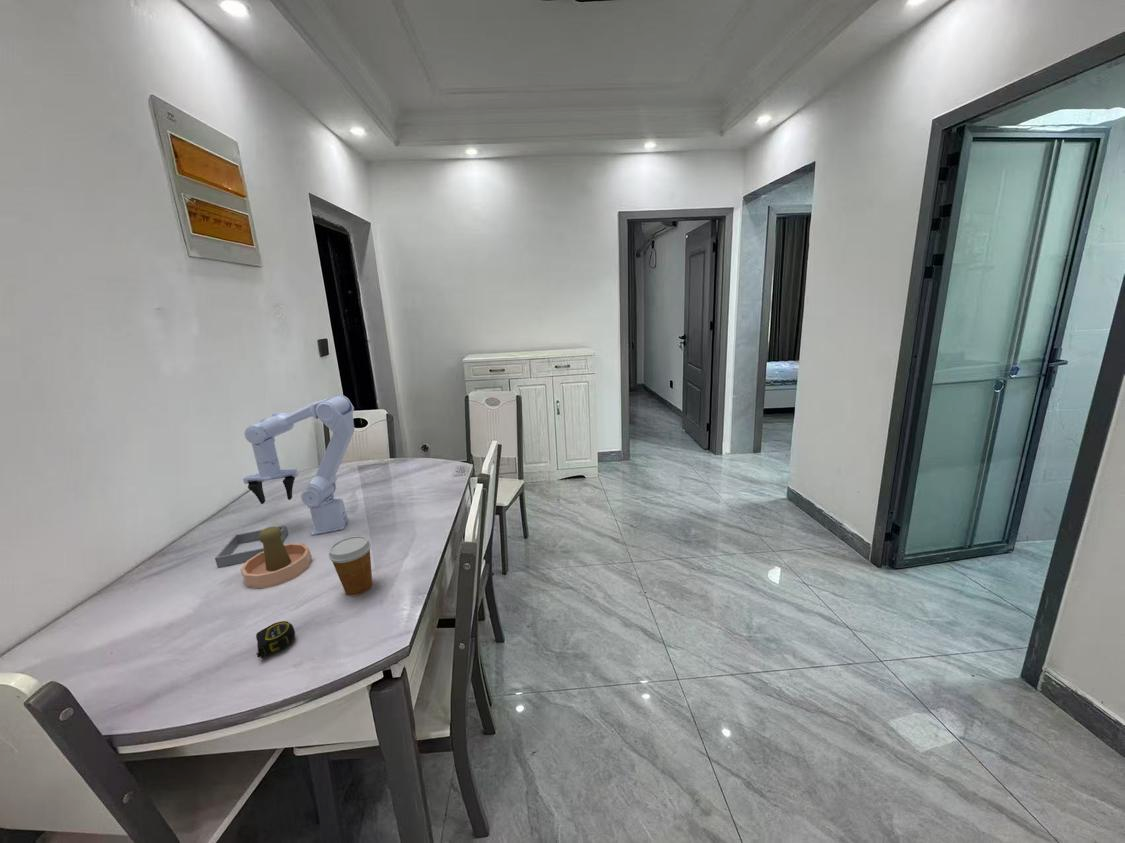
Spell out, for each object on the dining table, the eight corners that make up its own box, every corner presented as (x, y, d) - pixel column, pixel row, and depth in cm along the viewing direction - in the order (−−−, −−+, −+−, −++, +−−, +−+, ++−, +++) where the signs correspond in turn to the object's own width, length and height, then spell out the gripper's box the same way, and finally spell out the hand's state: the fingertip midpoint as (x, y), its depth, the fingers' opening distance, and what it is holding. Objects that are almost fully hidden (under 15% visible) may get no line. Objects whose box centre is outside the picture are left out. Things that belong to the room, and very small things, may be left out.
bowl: (316, 549, 134) (314, 538, 133) (302, 579, 119) (299, 567, 118) (257, 561, 130) (254, 550, 129) (235, 593, 115) (231, 581, 114)
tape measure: (258, 644, 97) (254, 629, 96) (295, 629, 100) (291, 615, 99) (259, 663, 91) (254, 648, 90) (298, 647, 95) (293, 632, 94)
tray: (288, 533, 145) (285, 525, 144) (273, 556, 132) (271, 547, 131) (237, 543, 142) (235, 534, 141) (217, 567, 129) (214, 558, 128)
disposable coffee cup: (338, 583, 116) (328, 541, 113) (378, 572, 119) (369, 531, 116) (337, 605, 107) (325, 560, 104) (380, 592, 111) (370, 548, 108)
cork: (280, 571, 122) (270, 534, 119) (260, 571, 123) (249, 535, 120) (296, 558, 128) (286, 523, 125) (276, 558, 129) (266, 523, 126)
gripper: (235, 468, 136) (246, 509, 139) (289, 461, 140) (299, 501, 143) (244, 460, 142) (254, 500, 146) (295, 454, 146) (304, 493, 150)
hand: (276, 500), depth 145 cm, fingers open, 7 cm apart
